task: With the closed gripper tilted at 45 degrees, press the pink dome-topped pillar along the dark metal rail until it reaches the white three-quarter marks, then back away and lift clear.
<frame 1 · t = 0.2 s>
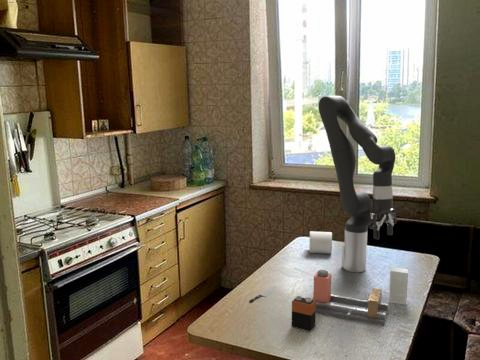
hand: (383, 237, 185), 18 cm above the table, tool pointing down, fingers open, 8 cm apart
skincare box: (397, 301, 168), on the table
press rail: (347, 310, 162), on the table
chef's knife: (266, 295, 175), on the table
toilet paper: (320, 253, 219), on the table
pink dome-topped pillar: (322, 286, 164), point 7 cm above the table, slide at 0.0 cm
battery: (303, 327, 151), on the table
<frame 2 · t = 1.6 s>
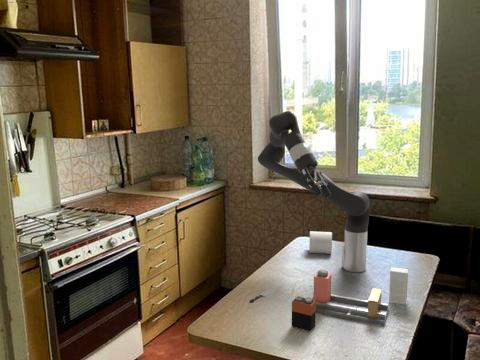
hand: (324, 195, 165), 38 cm above the table, tool tilted 40°, fingers open, 8 cm apart
nothing on the table moved.
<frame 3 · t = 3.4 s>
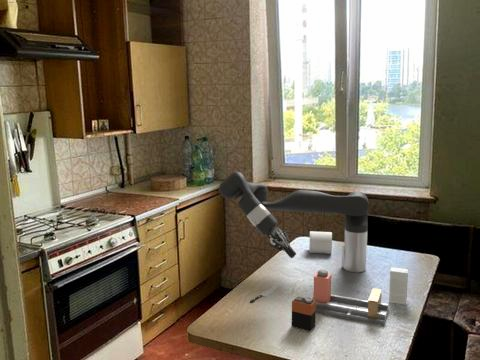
hand: (293, 256, 166), 17 cm above the table, tool tilted 45°, fingers closed
nothing on the table moved.
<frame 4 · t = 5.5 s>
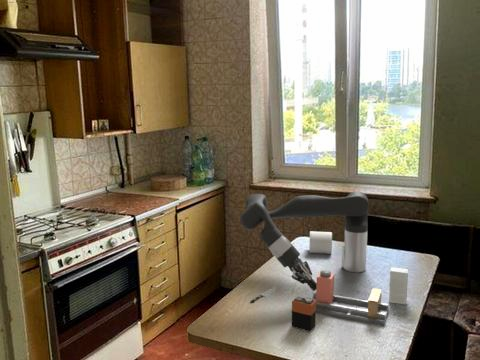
hand: (316, 288, 164), 6 cm above the table, tool tilted 45°, fingers closed
pink dome-topped pillar: (325, 287, 163), point 7 cm above the table, slide at 1.0 cm, touching gripper
everything else where it was.
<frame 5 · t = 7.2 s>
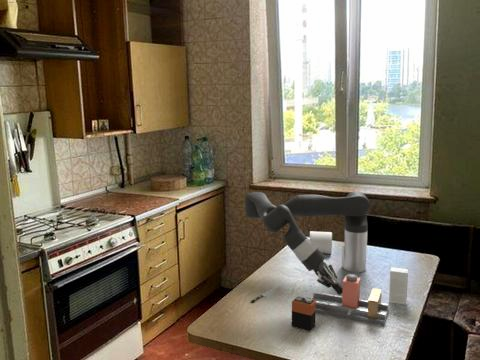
hand: (341, 292, 161), 6 cm above the table, tool tilted 45°, fingers closed
pink dome-topped pillar: (351, 291, 160), point 7 cm above the table, slide at 10.1 cm, touching gripper
everything else where it was.
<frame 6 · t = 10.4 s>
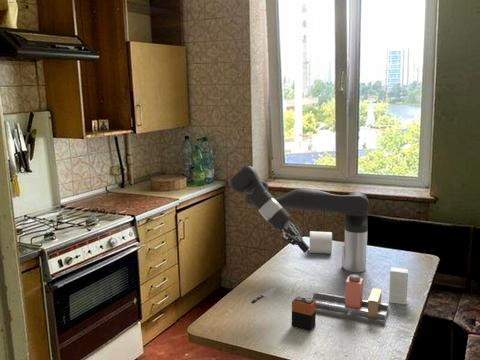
hand: (307, 250, 164), 20 cm above the table, tool tilted 45°, fingers closed
pink dome-topped pillar: (354, 292, 159), point 7 cm above the table, slide at 11.0 cm
everything else where it was.
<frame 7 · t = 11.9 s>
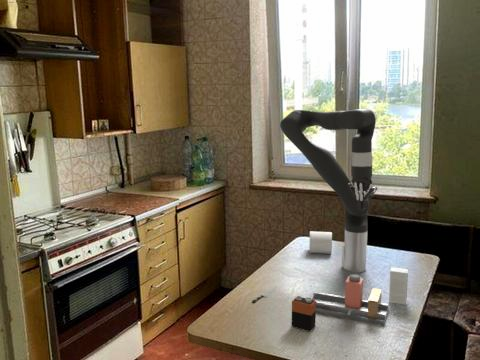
hand: (361, 209, 174), 31 cm above the table, tool pointing down, fingers closed
nothing on the table moved.
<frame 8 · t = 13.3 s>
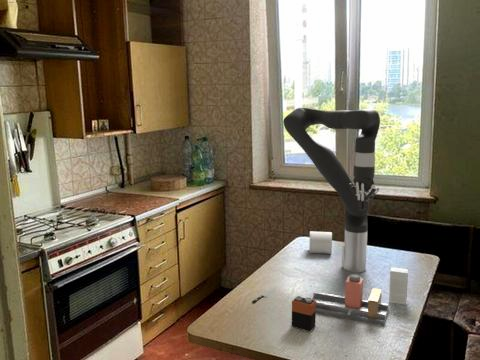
hand: (362, 210, 174), 31 cm above the table, tool pointing down, fingers closed
nothing on the table moved.
at the end: pink dome-topped pillar slide at 11.0 cm; battery moved 0.2 cm from its start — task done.
